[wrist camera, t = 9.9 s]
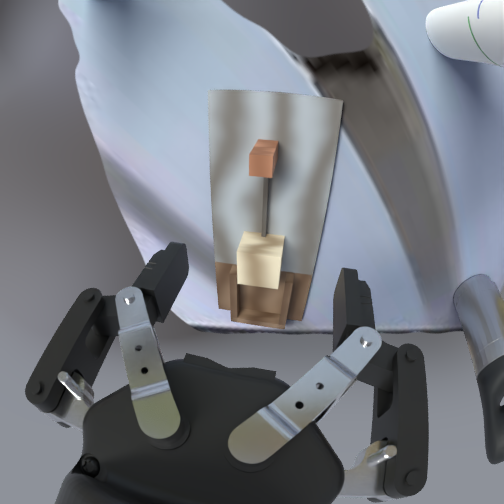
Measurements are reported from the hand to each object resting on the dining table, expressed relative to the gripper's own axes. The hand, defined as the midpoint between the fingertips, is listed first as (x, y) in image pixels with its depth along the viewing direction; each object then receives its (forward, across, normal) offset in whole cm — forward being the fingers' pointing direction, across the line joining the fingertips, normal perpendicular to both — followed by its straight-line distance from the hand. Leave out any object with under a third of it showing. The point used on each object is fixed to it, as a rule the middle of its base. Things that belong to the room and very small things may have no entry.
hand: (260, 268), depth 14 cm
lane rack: (+25, +3, +13) cm, 28 cm away
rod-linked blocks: (+24, +3, +10) cm, 26 cm away
